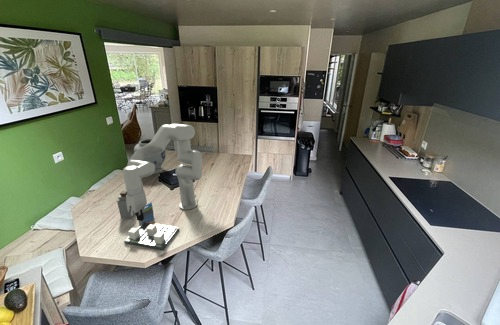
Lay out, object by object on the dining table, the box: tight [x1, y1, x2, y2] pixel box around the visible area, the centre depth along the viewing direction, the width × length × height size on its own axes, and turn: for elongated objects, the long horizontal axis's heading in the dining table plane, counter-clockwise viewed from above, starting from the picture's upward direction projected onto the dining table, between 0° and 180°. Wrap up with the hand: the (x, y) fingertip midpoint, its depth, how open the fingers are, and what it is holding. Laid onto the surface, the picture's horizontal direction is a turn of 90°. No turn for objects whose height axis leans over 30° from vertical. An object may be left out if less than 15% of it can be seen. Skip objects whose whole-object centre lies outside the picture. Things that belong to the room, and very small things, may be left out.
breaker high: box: [154, 232, 165, 244], centre depth 132 cm, size 4×4×5 cm
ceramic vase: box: [133, 138, 167, 175], centre depth 221 cm, size 27×27×30 cm
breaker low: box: [127, 227, 140, 240], centre depth 135 cm, size 4×4×5 cm
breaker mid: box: [146, 224, 157, 236], centre depth 138 cm, size 4×4×5 cm
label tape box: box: [138, 202, 155, 225], centre depth 152 cm, size 9×4×12 cm, turn 150°
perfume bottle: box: [116, 190, 134, 220], centre depth 156 cm, size 7×7×18 cm
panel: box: [123, 221, 180, 252], centre depth 140 cm, size 18×24×3 cm
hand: (140, 219), depth 127 cm, fingers closed
